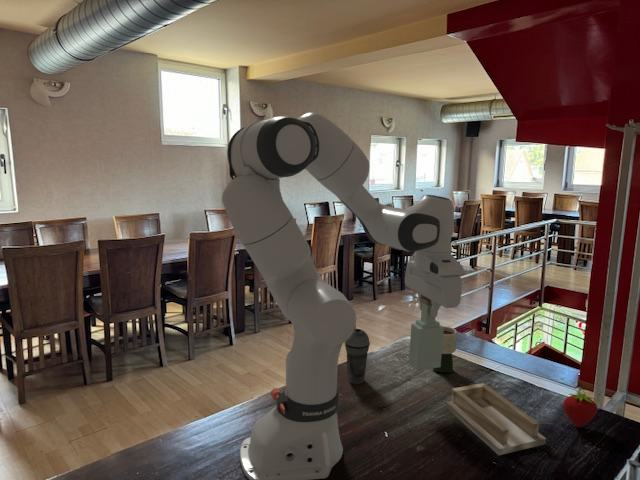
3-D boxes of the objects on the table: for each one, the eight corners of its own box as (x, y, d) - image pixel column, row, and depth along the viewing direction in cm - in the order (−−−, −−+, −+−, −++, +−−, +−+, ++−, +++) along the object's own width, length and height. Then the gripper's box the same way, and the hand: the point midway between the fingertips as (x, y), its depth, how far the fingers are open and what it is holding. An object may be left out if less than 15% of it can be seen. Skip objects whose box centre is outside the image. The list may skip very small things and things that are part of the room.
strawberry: (555, 419, 111) (560, 382, 109) (586, 420, 111) (591, 383, 109) (568, 433, 105) (573, 395, 103) (600, 434, 105) (605, 396, 103)
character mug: (461, 377, 131) (465, 336, 129) (439, 379, 130) (442, 338, 127) (444, 361, 142) (447, 323, 139) (424, 363, 140) (426, 324, 138)
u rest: (498, 455, 97) (500, 434, 96) (445, 407, 115) (447, 389, 114) (545, 444, 101) (547, 424, 100) (486, 399, 119) (488, 382, 119)
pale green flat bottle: (416, 370, 112) (421, 302, 108) (408, 363, 115) (413, 297, 112) (440, 367, 114) (445, 300, 111) (432, 360, 117) (437, 295, 114)
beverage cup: (367, 387, 124) (369, 320, 121) (341, 384, 126) (343, 318, 122) (369, 375, 132) (372, 311, 128) (345, 372, 133) (347, 309, 129)
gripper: (400, 252, 118) (397, 301, 121) (444, 270, 99) (440, 329, 102) (421, 251, 120) (417, 300, 123) (468, 269, 101) (463, 326, 104)
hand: (428, 313), depth 112 cm, fingers closed on pale green flat bottle, 3 cm apart
